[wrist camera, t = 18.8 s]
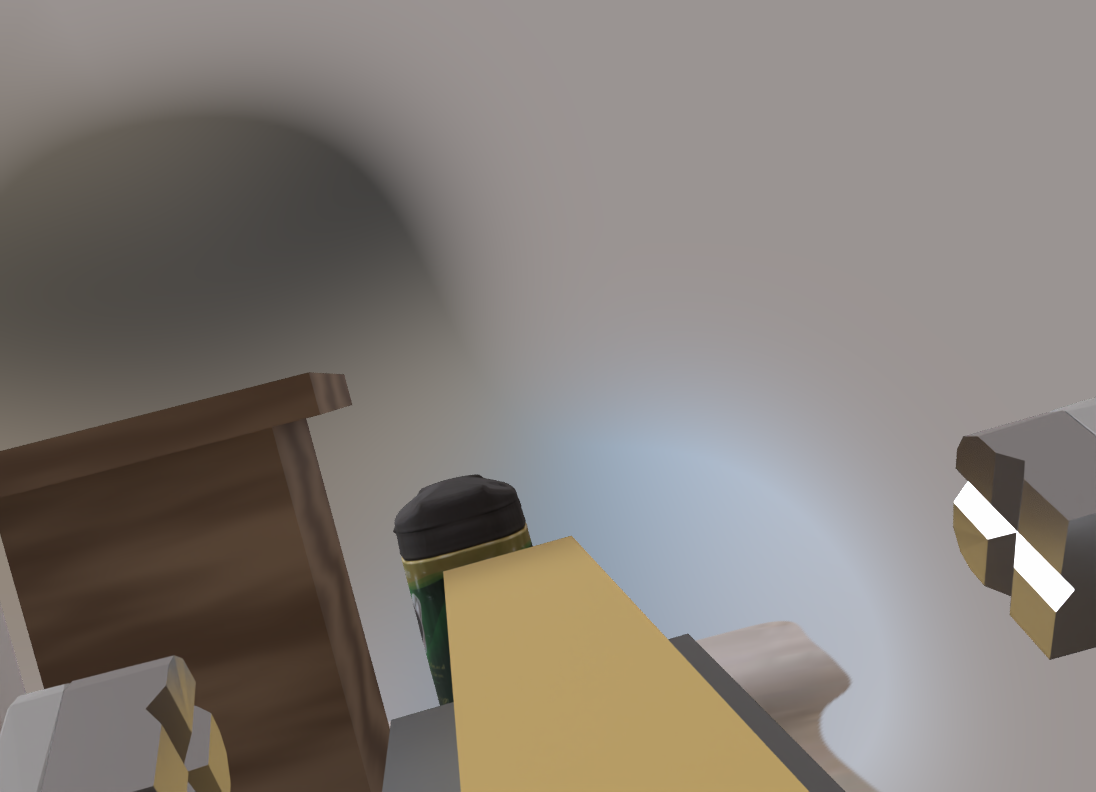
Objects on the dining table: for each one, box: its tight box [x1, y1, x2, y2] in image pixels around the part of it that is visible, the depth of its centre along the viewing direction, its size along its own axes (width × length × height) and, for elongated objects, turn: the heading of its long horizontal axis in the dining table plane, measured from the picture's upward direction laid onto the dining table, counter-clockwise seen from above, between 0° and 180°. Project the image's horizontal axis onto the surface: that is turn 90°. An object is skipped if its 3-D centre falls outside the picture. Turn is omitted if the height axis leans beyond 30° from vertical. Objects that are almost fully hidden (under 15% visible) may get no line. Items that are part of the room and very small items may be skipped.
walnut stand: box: [0, 372, 390, 792], centre depth 43 cm, size 14×14×26 cm
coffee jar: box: [393, 475, 533, 706], centre depth 64 cm, size 10×8×19 cm
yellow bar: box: [443, 536, 809, 792], centre depth 24 cm, size 22×4×4 cm, turn 6°
